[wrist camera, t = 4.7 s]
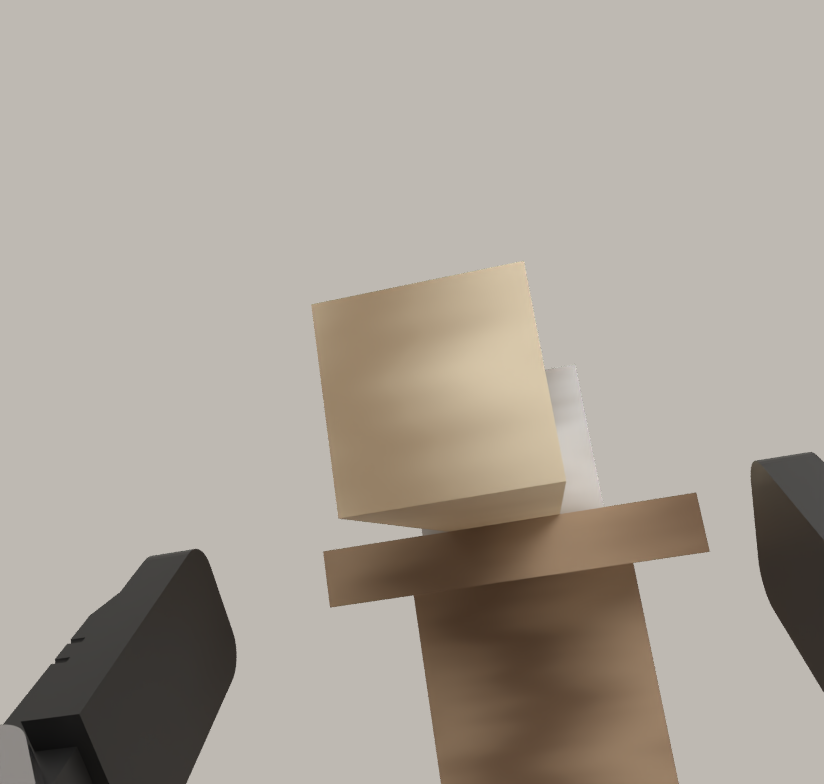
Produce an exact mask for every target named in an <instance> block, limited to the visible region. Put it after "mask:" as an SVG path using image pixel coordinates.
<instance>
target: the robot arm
mask: <svg viewBox="0 0 824 784" xmlns="http://www.w3.org/2000/svg"><path fill="white" fill-rule="evenodd" d="M751 485H752V496H753V507H754V518H755V528H756V539H757V550H758V560H759V567H760V572H761V577H762V581H763V585H764V588H765V591H766V594H767V597H768V599H769V601H770V604H771V606H772V608H773V609H774V611H775V613H776V614H777V616H778V618H779V619H780V621H781V623H782V624H783V626H784V628H785V629H786V631H787V632H788V634H789V636H790V637H791V639H792V641H793V642H794V644H795V646H796V647H797V649H798V650H799V652H800V654H801V655H802V657H803V659H804V661H805V662H806V664H807V665H808V667H809V669H810V670H811V672H812V674H813V675H814V677H815V679H816V680H817V682H818V684H819V685H820V687H821V688H822V690H823V692H824V462H823V461H822V460H821V459H820V458H819V457H818V456H817V455H815V454H814V453H812V452H808V453H802V454H795V455H789V456H782V457H777V458H770V459H764V460H757V461H754V462H753V463H752V467H751ZM235 668H236V644H235V638H234V635H233V631H232V628H231V626H230V622H229V620H228V617H227V614H226V611H225V608H224V605H223V602H222V599H221V596H220V594H219V591H218V587H217V584H216V581H215V578H214V575H213V573H212V569H211V567H210V564H209V561H208V559H207V557H206V556H205V554H204V553H203V552H202V551H200V550H199V549H192V550H186V551H180V552H174V553H167V554H161V555H155V556H150V557H148V558H147V559H146V560H145V561H144V562H143V563H142V565H141V566H140V567H139V569H138V570H137V571H136V572H135V574H134V575H133V576H132V578H131V579H130V580H129V581H128V583H127V584H126V585H125V587H124V588H123V589H122V591H121V592H120V593H118V594H117V595H116V596H115V597H113V598H112V599H111V600H109V601H108V602H107V603H106V604H104V605H103V606H102V607H100V608H99V609H98V610H97V611H95V612H94V613H93V614H91V615H90V616H89V617H88V619H87V620H86V621H85V622H84V624H83V625H82V626H81V627H80V629H79V630H78V631H77V632H76V634H75V635H74V636H73V637H72V639H71V644H67V645H66V646H65V647H64V649H63V650H62V651H61V652H60V654H59V655H58V656H57V658H56V659H55V664H51V665H50V666H49V668H48V669H47V670H46V671H45V673H44V674H43V675H42V676H41V678H40V679H39V680H38V682H37V683H36V684H35V685H34V686H33V688H32V689H31V690H30V691H29V693H28V694H27V695H26V696H25V698H24V699H23V700H22V701H21V703H20V704H19V705H18V707H17V708H16V709H15V710H14V711H13V713H12V714H11V715H10V717H9V718H8V719H7V720H6V722H5V723H4V724H3V725H0V784H186V783H187V780H188V778H189V776H190V774H191V772H192V769H193V767H194V765H195V763H196V760H197V758H198V756H199V754H200V751H201V749H202V747H203V745H204V742H205V740H206V738H207V735H208V733H209V731H210V729H211V727H212V724H213V722H214V720H215V718H216V715H217V713H218V711H219V709H220V706H221V704H222V702H223V700H224V698H225V695H226V693H227V691H228V689H229V686H230V684H231V682H232V679H233V677H234V673H235Z"/></svg>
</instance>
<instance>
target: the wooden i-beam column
mask: <svg viewBox="0 0 824 784" xmlns="http://www.w3.org/2000/svg"><path fill="white" fill-rule="evenodd" d="M704 552H709V547H708V543H707V538H706V534H705V529H704V525H703V520H702V516H701V512H700V507H699V503H698V499H697V494H696V493H691V494H685V495H678V496H672V497H666V498H659V499H653V500H647V501H640V502H634V503H627V504H621V505H615V506H609V507H602V508H596V509H589V510H583V511H577V512H570V513H564V514H558V515H551V516H545V517H539V518H532V519H526V520H520V521H513V522H507V523H501V524H494V525H488V526H482V527H475V528H469V529H463V530H457V531H450V532H444V533H437V534H431V535H425V536H419V537H412V538H406V539H400V540H393V541H387V542H381V543H374V544H368V545H362V546H356V547H350V548H343V549H336V550H330V551H324V561H325V569H326V577H327V586H328V593H329V602H330V607H337V606H343V605H350V604H357V603H364V602H370V601H377V600H384V599H391V598H398V597H404V596H411V595H414V600H415V606H416V614H417V620H418V627H419V634H420V641H421V648H422V655H423V662H424V669H425V676H426V682H427V689H428V697H429V703H430V710H431V717H432V724H433V731H434V737H435V745H436V752H437V758H438V765H439V772H440V779H441V784H679V783H678V778H677V773H676V768H675V764H674V758H673V754H672V749H671V744H670V739H669V735H668V730H667V725H666V720H665V715H664V710H663V705H662V700H661V695H660V691H659V686H658V681H657V676H656V671H655V666H654V662H653V657H652V652H651V647H650V642H649V638H648V633H647V628H646V623H645V618H644V613H643V608H642V603H641V599H640V594H639V589H638V584H637V579H636V575H635V569H634V565H633V563H636V562H642V561H649V560H656V559H663V558H669V557H676V556H683V555H690V554H697V553H704Z"/></svg>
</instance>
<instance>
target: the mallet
mask: <svg viewBox="0 0 824 784" xmlns="http://www.w3.org/2000/svg"><path fill="white" fill-rule="evenodd" d="M312 312H313V321H314V329H315V337H316V344H317V352H318V360H319V368H320V376H321V384H322V392H323V399H324V408H325V415H326V423H327V431H328V439H329V446H330V454H331V462H332V471H333V478H334V486H335V493H336V502H337V510H338V518H340V519H347V520H355V521H363V522H372V523H380V524H388V525H396V526H405V527H413V528H421V529H422V533H423V536H425V535H431V534H437V533H444V532H450V531H457V530H463V529H469V528H475V527H482V526H488V525H494V524H501V523H507V522H513V521H520V520H526V519H532V518H539V517H545V516H551V515H558V514H564V513H570V512H577V511H583V510H589V509H596V508H602V507H604V505H603V500H602V495H601V490H600V485H599V480H598V475H597V470H596V465H595V460H594V455H593V450H592V445H591V440H590V435H589V430H588V425H587V420H586V415H585V410H584V405H583V400H582V396H581V390H580V385H579V380H578V375H577V370H576V366H575V365H569V366H563V367H558V368H552V369H547V370H545V368H544V362H543V357H542V352H541V347H540V342H539V336H538V331H537V326H536V321H535V316H534V310H533V305H532V300H531V295H530V290H529V285H528V279H527V274H526V269H525V263H524V261H521V262H516V263H511V264H506V265H501V266H497V267H491V268H487V269H482V270H477V271H472V272H467V273H463V274H457V275H453V276H448V277H443V278H438V279H433V280H428V281H424V282H419V283H414V284H409V285H404V286H399V287H395V288H389V289H384V290H380V291H375V292H370V293H365V294H361V295H356V296H350V297H346V298H341V299H336V300H331V301H326V302H321V303H317V304H312Z"/></svg>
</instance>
